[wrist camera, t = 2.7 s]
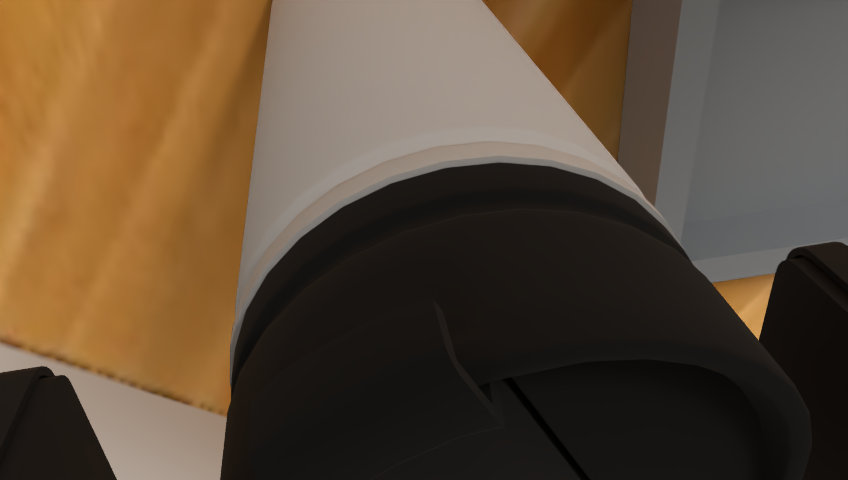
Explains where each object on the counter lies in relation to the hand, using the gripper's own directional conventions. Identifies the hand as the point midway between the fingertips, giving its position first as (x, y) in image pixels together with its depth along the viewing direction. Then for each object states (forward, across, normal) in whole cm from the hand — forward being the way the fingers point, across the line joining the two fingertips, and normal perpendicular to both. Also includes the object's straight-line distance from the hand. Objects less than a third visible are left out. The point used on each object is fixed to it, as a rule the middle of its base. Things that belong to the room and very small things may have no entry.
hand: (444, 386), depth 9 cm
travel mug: (+17, 0, -1) cm, 17 cm away
